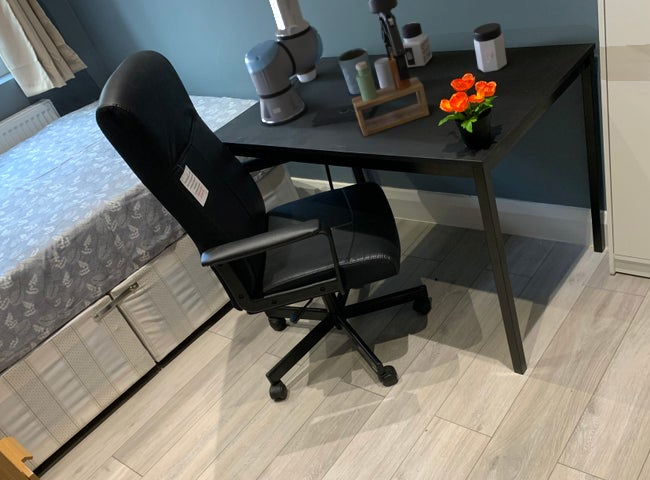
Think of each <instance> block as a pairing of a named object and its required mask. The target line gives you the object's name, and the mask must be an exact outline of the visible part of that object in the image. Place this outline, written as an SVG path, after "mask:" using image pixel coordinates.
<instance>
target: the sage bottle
mask: <svg viewBox="0 0 650 480" xmlns="http://www.w3.org/2000/svg"><path fill="white" fill-rule="evenodd" d="M356 69H357V70H358V73H359V74H357V76H356V78H357V81H358V85H359V88H360V92H361V95H362V99H363V100H364V101H370V100H373V99H375V98H376V97H377V92H376V90H377V89H376V85H375V80H374V77H373V73H371V72H372V70H371V71H367V64H366V62H359V63H357V64H356ZM361 95H360V96H361Z"/></svg>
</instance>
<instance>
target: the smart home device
mask: <svg viewBox="0 0 650 480" xmlns="http://www.w3.org/2000/svg"><path fill="white" fill-rule="evenodd" d="M377 107H378V105H375V106H372V107H370V108H367V109H364V110H361V112H362V115H363V119H367V118H371V117H373V115H374V113H375V111H376V110H377ZM353 120H358V118H357V115H356V112H355V108H354V105H353V104H349V105H343V106H338V107H330V108H326V109H320V110H318V111H317V113H315V115H314V117H313V119H311V121H312V125H313V126H322V125H328V124H334V123H340V122H348V121H353Z"/></svg>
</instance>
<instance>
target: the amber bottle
mask: <svg viewBox="0 0 650 480" xmlns="http://www.w3.org/2000/svg"><path fill="white" fill-rule="evenodd" d="M388 51H389V52H390V56H391V57H390V58H389V59H388V61H389V65H390V69H391V73H392V77H393V81H394V85H395V89H396V90H402V89H406V88H408V87H409V86H410V85H411V83H410V79H411V77H410V78H408V79H405V80H403V81H400V78H399V74H398V69H397V65H396V61H395V59H393V55H395V54H394V51H393V48H392V45H391V44H390V45H388ZM399 51H401V50H399ZM399 51H398V52H399Z"/></svg>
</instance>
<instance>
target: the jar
mask: <svg viewBox="0 0 650 480" xmlns="http://www.w3.org/2000/svg"><path fill="white" fill-rule="evenodd" d="M501 27H502V26H501V23H497V22H490V23H484V24H482V25H480V26H477V27H476V28H475V29H473V36H474V39H473V44H474V52H475V57H476V62H477V68H478V70H480V71H482V73H489V72H490V73H491V72H497V71H499V70H501V69H502V68H503V67H505V66H506V65H508V62H507V55H506V48H505V40H504V34H503V33H502V28H501Z"/></svg>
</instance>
